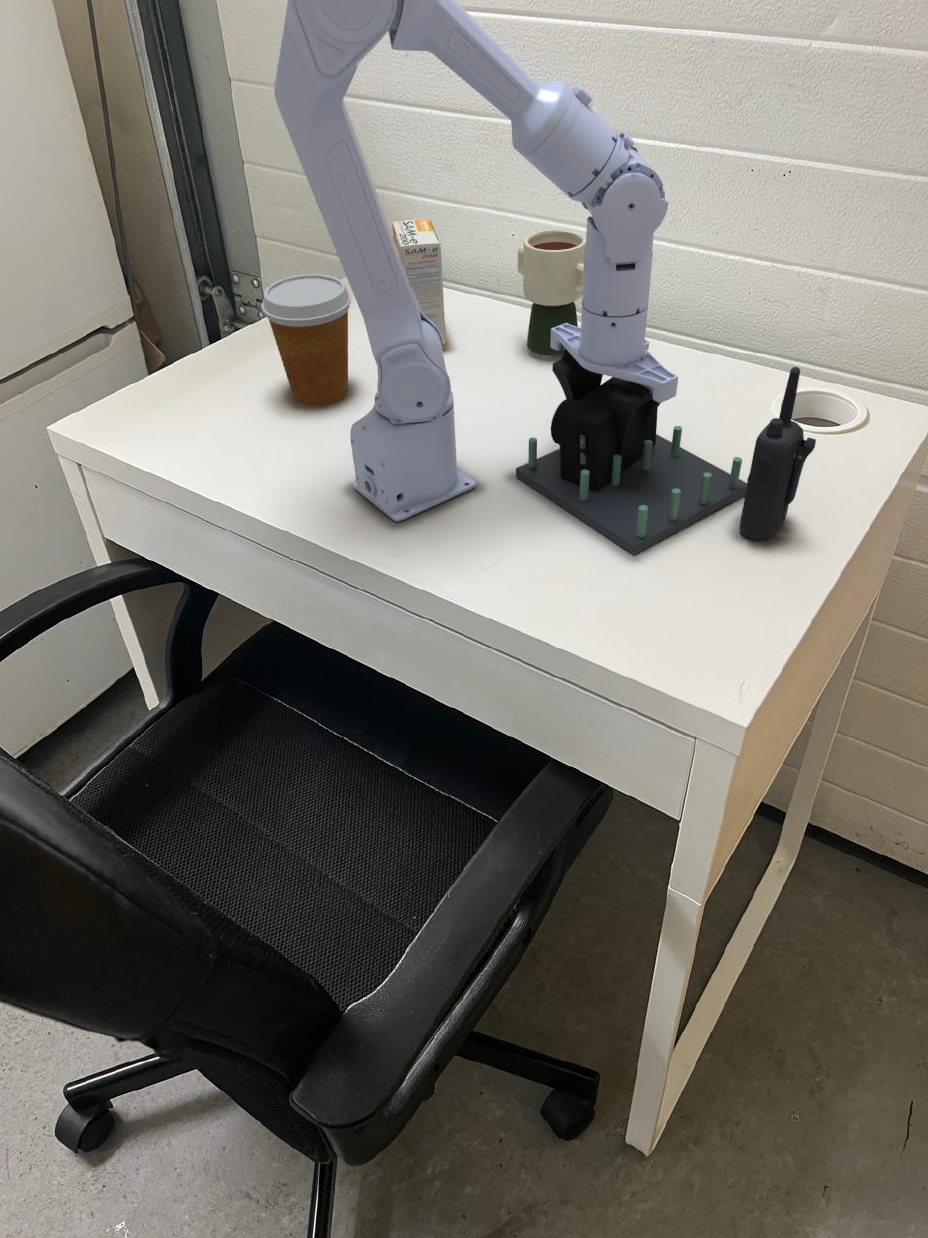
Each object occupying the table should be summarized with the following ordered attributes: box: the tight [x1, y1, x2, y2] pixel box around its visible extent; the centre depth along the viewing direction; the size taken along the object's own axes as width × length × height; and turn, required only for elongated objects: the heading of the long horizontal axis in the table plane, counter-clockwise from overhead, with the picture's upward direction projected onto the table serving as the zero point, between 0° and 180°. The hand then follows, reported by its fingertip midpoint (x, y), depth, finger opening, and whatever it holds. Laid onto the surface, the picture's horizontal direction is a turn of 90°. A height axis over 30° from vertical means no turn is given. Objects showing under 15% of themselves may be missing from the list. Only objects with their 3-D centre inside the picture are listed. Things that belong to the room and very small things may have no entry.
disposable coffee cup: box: [260, 273, 352, 407], centre depth 102 cm, size 10×10×12 cm
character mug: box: [517, 228, 586, 356], centre depth 108 cm, size 11×7×13 cm, turn 46°
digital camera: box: [550, 377, 659, 490], centre depth 89 cm, size 10×5×7 cm, turn 139°
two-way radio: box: [739, 366, 817, 540], centre depth 79 cm, size 6×4×15 cm
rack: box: [515, 425, 748, 556], centre depth 89 cm, size 15×16×4 cm
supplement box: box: [391, 217, 447, 350], centre depth 112 cm, size 8×5×13 cm, turn 10°
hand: (605, 440), depth 90 cm, fingers closed on digital camera, 5 cm apart
